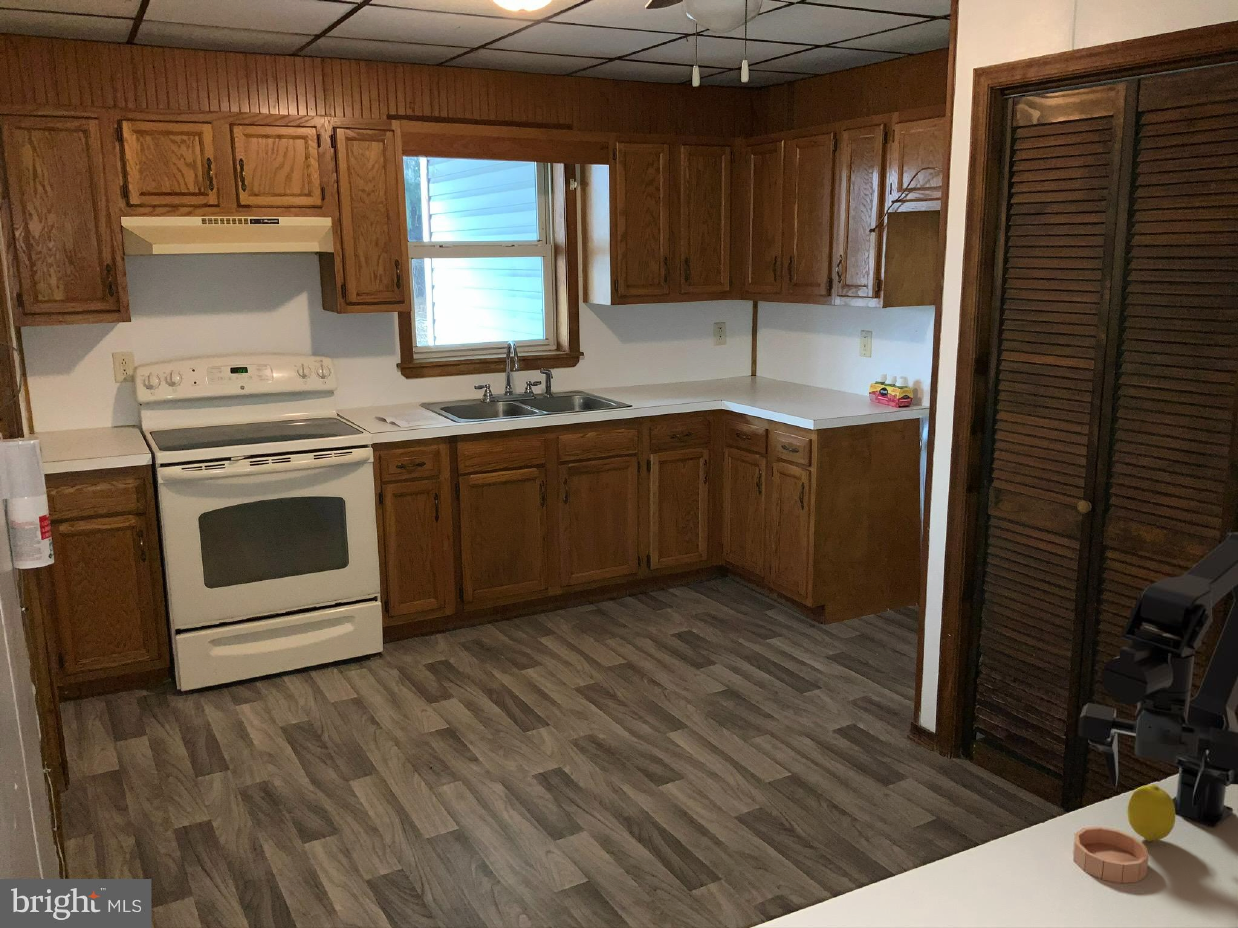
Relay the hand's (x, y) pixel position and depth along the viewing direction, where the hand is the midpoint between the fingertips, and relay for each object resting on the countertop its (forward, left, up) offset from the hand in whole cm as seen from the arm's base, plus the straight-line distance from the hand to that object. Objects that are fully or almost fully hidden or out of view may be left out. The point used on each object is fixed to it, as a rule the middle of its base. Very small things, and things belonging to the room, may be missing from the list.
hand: (1153, 795), depth 131 cm
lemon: (0, 0, -7) cm, 7 cm away
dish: (+9, -1, -6) cm, 11 cm away
